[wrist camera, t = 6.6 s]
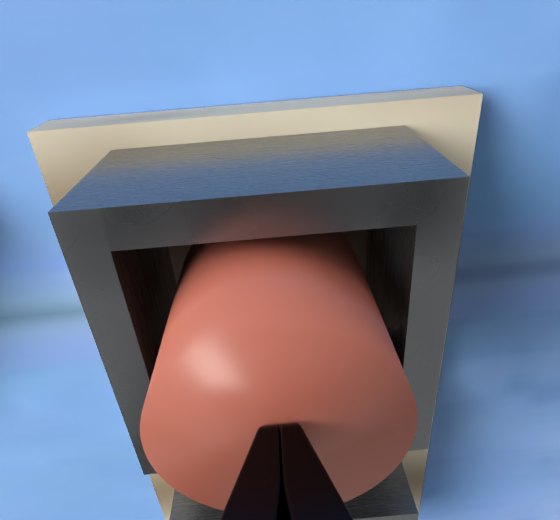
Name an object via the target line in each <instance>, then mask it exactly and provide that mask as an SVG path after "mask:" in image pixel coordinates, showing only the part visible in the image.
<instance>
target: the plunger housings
mask: <svg viewBox="0 0 560 520" xmlns="http://www.w3.org/2000/svg"><path fill="white" fill-rule="evenodd" d="M469 179H470V176H468V175H467V174H466V173H465V172H463V171H462V170H461V169H460V168H458V167H457V166H456V165H454V164H453V163H452V162H451V161H449V160H448V159H447V158H446V157H444V156H443V155H442V154H441V153H439V152H438V151H437V150H435V149H434V148H433V147H432V146H430V145H429V144H428V143H427V142H425V141H424V140H423V139H421V138H420V137H419V136H418V135H416V134H415V133H414V132H413V131H411V130H410V129H409V128H408V127H406V126H405V125H401V126H389V127H378V128H366V129H354V130H342V131H330V132H318V133H306V134H295V135H283V136H271V137H259V138H247V139H235V140H223V141H212V142H200V143H188V144H176V145H164V146H152V147H140V148H128V149H117V150H111V151H110V152H109V153H108V154H107V155H106V156H105V157H104V158H103V159H102V160H100V161H99V162H98V163H97V164H96V165H95V166H94V167H93V168H92V169H91V170H90V171H89V172H88V173H87V174H86V175H85V176H84V177H83V178H82V179H81V180H80V181H79V182H78V183H77V184H76V185H75V186H74V187H73V188H72V189H71V190H70V191H69V192H68V193H67V194H66V195H65V196H64V197H63V198H62V199H61V200H60V201H59V202H58V203H57V204H56V205H55V206H54V207H53V208H52V209H51V210H50V211H49V212H48V214H49V217H50V220H51V222H52V225H53V228H54V231H55V233H56V236H57V239H58V241H59V244H60V247H61V250H62V252H63V255H64V258H65V261H66V263H67V266H68V269H69V271H70V274H71V277H72V280H73V282H74V285H75V288H76V290H77V293H78V296H79V299H80V301H81V304H82V307H83V310H84V312H85V315H86V318H87V320H88V323H89V326H90V329H91V331H92V334H93V337H94V339H95V342H96V345H97V348H98V350H99V353H100V356H101V359H102V361H103V364H104V367H105V369H106V372H107V375H108V378H109V380H110V383H111V386H112V388H113V391H114V394H115V397H116V399H117V402H118V405H119V408H120V410H121V413H122V416H123V418H124V421H125V424H126V427H127V429H128V432H129V435H130V437H131V440H132V443H133V446H134V448H135V451H136V454H137V457H138V459H139V462H140V465H141V467H142V470H143V473H144V475H145V474H156V473H157V472H156V471H155V470H154V468H153V467H152V465H151V464H150V462H149V461H148V459H147V457H146V454H145V452H144V450H143V446H142V442H141V438H140V420H141V413H142V409H143V406H144V402H145V399H146V395H147V392H148V388H149V384H150V381H151V377H152V374H153V370H154V367H155V363H156V359H157V356H158V352H159V349H160V345H161V342H162V338H163V334H164V331H165V327H166V324H167V320H168V317H169V313H170V309H171V306H172V302H173V299H174V295H175V292H176V288H177V284H176V280H175V275H174V271H173V266H172V262H171V258H170V253H169V249H168V246H180V245H191V244H203V243H215V242H226V241H238V240H250V239H261V238H273V237H285V236H296V235H308V234H319V233H331V232H343V231H354V230H366V229H367V256H366V280H367V282H368V284H369V287H370V289H371V292H372V294H373V297H374V299H375V302H376V304H377V306H378V309H379V311H380V314H381V316H382V319H383V321H384V324H385V326H386V329H387V331H388V333H389V336H390V338H391V341H392V343H393V346H394V348H395V351H396V353H397V355H398V358H399V360H400V363H401V365H402V368H403V370H404V373H405V375H406V377H407V380H408V382H409V385H410V387H411V390H412V392H413V395H414V398H415V400H416V406H417V412H418V418H417V429H416V433H415V437H414V440H413V442H412V445H411V447H410V449H409V451H413V450H424V449H428V447H429V440H430V434H431V427H432V421H433V414H434V408H435V401H436V395H437V388H438V382H439V375H440V369H441V362H442V356H443V349H444V342H445V336H446V329H447V323H448V316H449V310H450V303H451V297H452V290H453V284H454V277H455V271H456V264H457V258H458V251H459V244H460V238H461V231H462V225H463V218H464V212H465V205H466V199H467V192H468V186H469ZM344 504H345V505H346V507H347V509H348V511H349V513H350V514H351V516H352V518H353V520H417V519H418V511H417V508H416V505H415V502H414V498H413V495H412V492H411V489H410V486H409V483H408V480H407V477H406V474H405V471H404V467H403V464H402V461H401V463H400V464H399V465H398V466H397V467H396V469H395V470H394V471H393V472H392V473H391V474H390V475H388V476H387V477H386V478H385V479H384V480H383V481H381V482H380V483H379V484H377V485H376V486H375V487H373V488H372V489H370V490H368V491H367V492H365V493H363V494H362V495H360V496H357V497H355V498H353V499H351V500H349V501H347V502H344ZM222 513H223V510H219V509H215V508H212V507H209V506H207V505H204V504H201V503H199V502H197V501H195V500H193V499H190V498H188V497H186V496H185V495H183V494H182V493H180V492H178V491H177V490H174V496H173V502H172V508H171V514H170V520H220V518H221V516H222Z"/></svg>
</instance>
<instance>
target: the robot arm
mask: <svg viewBox="0 0 560 520" xmlns="http://www.w3.org/2000/svg"><path fill="white" fill-rule="evenodd" d="M220 520H353V518H352V516H351V514H350V513H349V511H348V509H347V507H346V505H345V504H344V502H343V500H342V498H341V496H340V495H339V493H338V491H337V489H336V487H335V486H334V484H333V482H332V480H331V478H330V477H329V475H328V473H327V471H326V470H325V468H324V466H323V464H322V462H321V461H320V459H319V457H318V455H317V453H316V452H315V450H314V448H313V446H312V444H311V443H310V441H309V439H308V437H307V435H306V434H305V432H304V430H303V428H302V427H301V425H300V424H298V423H291V424H282V425H281V426H280V429H279V426H277V425H268V426H261V427H259V428H258V430H257V432H256V435H255V437H254V439H253V442H252V444H251V446H250V449H249V451H248V454H247V456H246V458H245V461H244V463H243V466H242V468H241V470H240V473H239V475H238V477H237V480H236V482H235V485H234V487H233V489H232V492H231V494H230V497H229V499H228V501H227V504H226V506H225V509H224V511H223V513H222V516H221V518H220Z"/></svg>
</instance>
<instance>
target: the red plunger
mask: <svg viewBox="0 0 560 520" xmlns="http://www.w3.org/2000/svg"><path fill="white" fill-rule="evenodd" d="M417 418H418V412H417V406H416V400H415V398H414V395H413V392H412V390H411V387H410V385H409V382H408V380H407V377H406V375H405V373H404V370H403V368H402V365H401V363H400V360H399V358H398V355H397V353H396V351H395V348H394V346H393V343H392V341H391V338H390V336H389V333H388V331H387V329H386V326H385V324H384V321H383V319H382V316H381V314H380V311H379V309H378V306H377V304H376V302H375V299H374V297H373V294H372V292H371V289H370V287H369V284H368V282H367V280H366V277H365V275H364V272H363V270H362V267H361V265H360V262H359V260H358V258H357V255H356V253H355V250H354V249H353V247H352V245H351V243H350V242H349V240H348V239H347V238H346V237H345V235H344V234H343V233H342V232H331V233H319V234H308V235H296V236H285V237H273V238H261V239H250V240H238V241H226V242H215V243H203V244H192V246H191V247H190V249H189V251H188V253H187V255H186V258H185V261H184V263H183V267H182V270H181V274H180V277H179V281H178V284H177V288H176V292H175V295H174V299H173V302H172V306H171V309H170V313H169V317H168V320H167V324H166V327H165V331H164V334H163V338H162V342H161V345H160V349H159V352H158V356H157V359H156V363H155V367H154V370H153V374H152V377H151V381H150V384H149V388H148V392H147V395H146V399H145V402H144V406H143V409H142V413H141V420H140V438H141V442H142V446H143V450H144V452H145V454H146V457H147V459H148V461H149V462H150V464H151V465H152V467H153V468H154V470H155V471H156V472H157V473H158V474H159V475H160V477H161V478H162V479H163V480H164V481H165V482H167V483H168V484H169V485H170V486H172V487H173V488H174V489H175V490H177V491H178V492H180V493H182V494H183V495H185V496H186V497H188V498H190V499H193V500H195V501H197V502H199V503H201V504H204V505H207V506H209V507H212V508H215V509H219V510H223V511H224V509H225V506H226V504H227V501H228V499H229V497H230V494H231V492H232V489H233V487H234V485H235V482H236V480H237V477H238V475H239V473H240V470H241V468H242V466H243V463H244V461H245V458H246V456H247V454H248V451H249V449H250V446H251V444H252V442H253V439H254V437H255V435H256V432H257V430H258V428H259V427H261V426H268V425H277V426H279V429H280V426H281V425H282V424H291V423H298V424H300V425H301V427H302V428H303V430H304V432H305V434H306V435H307V437H308V439H309V441H310V443H311V444H312V446H313V448H314V450H315V452H316V453H317V455H318V457H319V459H320V461H321V462H322V464H323V466H324V468H325V470H326V471H327V473H328V475H329V477H330V478H331V480H332V482H333V484H334V486H335V487H336V489H337V491H338V493H339V495H340V496H341V498H342V500H343V502H347V501H349V500H351V499H353V498H355V497H357V496H360V495H362V494H363V493H365V492H367V491H368V490H370V489H372V488H373V487H375V486H376V485H377V484H379V483H380V482H381V481H383V480H384V479H385V478H386V477H387V476H388V475H390V474H391V473H392V472H393V471H394V470H395V469H396V467H397V466H398V465H399V464H400V463H401V461H402V460H403V459H404V457H405V456H406V454H407V452H408V451H409V449H410V447H411V445H412V442H413V440H414V437H415V433H416V429H417Z"/></svg>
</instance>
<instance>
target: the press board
mask: <svg viewBox="0 0 560 520" xmlns="http://www.w3.org/2000/svg"><path fill="white" fill-rule="evenodd" d="M482 98H483V94H482V93H480V92H477V91H475V90H472V89H469V88H467V87H464V86H451V87H439V88H427V89H416V90H404V91H392V92H380V93H368V94H356V95H344V96H332V97H320V98H308V99H296V100H284V101H272V102H260V103H248V104H236V105H224V106H212V107H201V108H189V109H177V110H165V111H153V112H141V113H129V114H117V115H105V116H93V117H81V118H69V119H57V120H48V121H46V122H44V123H43V124H41V125H39V126H37V127H35V128H33V129H32V130H30V131H28V132H27V134H28V136H29V139H30V142H31V145H32V148H33V150H34V153H35V156H36V159H37V162H38V164H39V167H40V170H41V173H42V176H43V178H44V181H45V184H46V187H47V190H48V192H49V195H50V198H51V201H52V204H53V206H55V205H56V204H57V203H58V202H59V201H60V200H61V199H62V198H63V197H64V196H65V195H66V194H67V193H68V192H69V191H70V190H71V189H72V188H73V187H74V186H75V185H76V184H77V183H78V182H79V181H80V180H81V179H82V178H83V177H84V176H85V175H86V174H87V173H88V172H89V171H90V170H91V169H92V168H93V167H94V166H95V165H96V164H97V163H98V162H99V161H100V160H102V159H103V158H104V157H105V156H106V155H107V154H108V153H109V152H110V151H111V150H117V149H128V148H140V147H152V146H164V145H176V144H188V143H200V142H212V141H223V140H235V139H247V138H259V137H271V136H283V135H295V134H306V133H318V132H330V131H342V130H354V129H366V128H378V127H389V126H401V125H405V126H406V127H408V128H409V129H410V130H411V131H413V132H414V133H415V134H416V135H418V136H419V137H420V138H421V139H423V140H424V141H425V142H427V143H428V144H429V145H430V146H432V147H433V148H434V149H435V150H437V151H438V152H439V153H441V154H442V155H443V156H444V157H446V158H447V159H448V160H449V161H451V162H452V163H453V164H454V165H456V166H457V167H458V168H460V169H461V170H462V171H463V172H465V173H466V174H467V175H468V176H471V170H472V163H473V157H474V150H475V144H476V137H477V131H478V124H479V118H480V111H481V105H482ZM469 183H470V179H469ZM468 189H469V186H468ZM467 196H468V192H467ZM466 202H467V199H466ZM465 209H466V205H465ZM464 215H465V212H464ZM463 222H464V218H463ZM462 228H463V225H462ZM342 233H343V234H344V235H345V237H346V238H347V239H348V240H349V242H350V243H351V245H352V247H353V249H354V250H355V253H356V255H357V258H358V260H359V262H360V265H361V267H362V270H363V272H364V275H365V277H366V256H367V229H366V230H354V231H343V232H342ZM461 235H462V231H461ZM460 241H461V238H460ZM191 246H192V244H191V245H180V246H168V249H169V253H170V258H171V262H172V266H173V271H174V275H175V280H176V284H178V281H179V277H180V274H181V270H182V267H183V263H184V261H185V258H186V255H187V253H188V251H189V249H190V247H191ZM459 248H460V244H459ZM458 254H459V251H458ZM457 261H458V258H457ZM456 267H457V264H456ZM455 274H456V271H455ZM454 280H455V277H454ZM453 287H454V284H453ZM452 293H453V290H452ZM451 300H452V297H451ZM450 306H451V303H450ZM449 313H450V310H449ZM448 319H449V316H448ZM447 326H448V323H447ZM446 332H447V329H446ZM445 339H446V336H445ZM444 345H445V342H444ZM443 352H444V349H443ZM442 358H443V356H442ZM441 365H442V362H441ZM440 371H441V369H440ZM439 378H440V375H439ZM438 384H439V382H438ZM437 391H438V388H437ZM436 397H437V395H436ZM435 404H436V401H435ZM434 410H435V408H434ZM433 417H434V414H433ZM432 423H433V421H432ZM431 430H432V427H431ZM430 436H431V434H430ZM429 443H430V440H429ZM428 449H429V447H428ZM428 449H424V450H413V451H408V452H407V454H406V456H405V457H404V459H403V460H402V464H403V467H404V471H405V474H406V477H407V480H408V483H409V486H410V489H411V492H412V495H413V498H414V502H415V505H416V508H417V511H418V514H419V508H420V501H421V495H422V488H423V482H424V475H425V469H426V462H427V456H428ZM149 475H150V478H151V480H152V483H153V486H154V489H155V492H156V494H157V497H158V500H159V503H160V506H161V508H162V511H163V514H164V517H165V520H170V514H171V508H172V502H173V496H174V490H175V489H174V488H173V487H172V486H170V485H169V484H168V483H167V482H165V481H164V480H163V479H162V478H161V477H160V475H159V474H158V473H156V474H149ZM417 520H418V519H417Z"/></svg>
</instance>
